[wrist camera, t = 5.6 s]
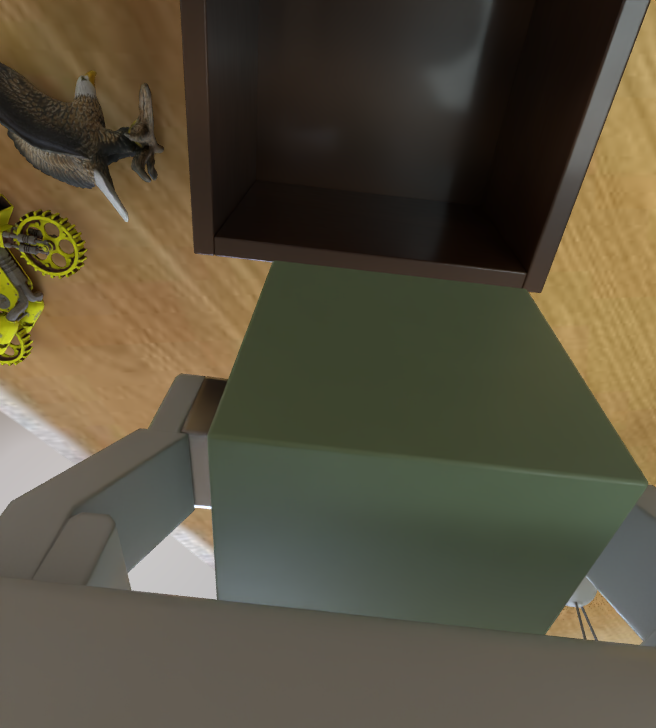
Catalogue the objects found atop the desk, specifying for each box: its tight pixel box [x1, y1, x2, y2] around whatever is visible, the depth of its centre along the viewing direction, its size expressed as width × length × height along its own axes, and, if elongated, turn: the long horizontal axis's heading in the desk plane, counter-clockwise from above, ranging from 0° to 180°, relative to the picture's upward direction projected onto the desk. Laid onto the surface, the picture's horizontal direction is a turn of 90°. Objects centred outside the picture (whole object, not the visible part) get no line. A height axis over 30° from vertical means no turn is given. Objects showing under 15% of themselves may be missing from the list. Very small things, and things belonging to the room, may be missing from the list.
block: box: [207, 261, 648, 635], centre depth 9 cm, size 5×5×5 cm
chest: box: [180, 0, 651, 293], centre depth 19 cm, size 16×14×10 cm
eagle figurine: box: [0, 62, 164, 222], centre depth 23 cm, size 8×7×9 cm
